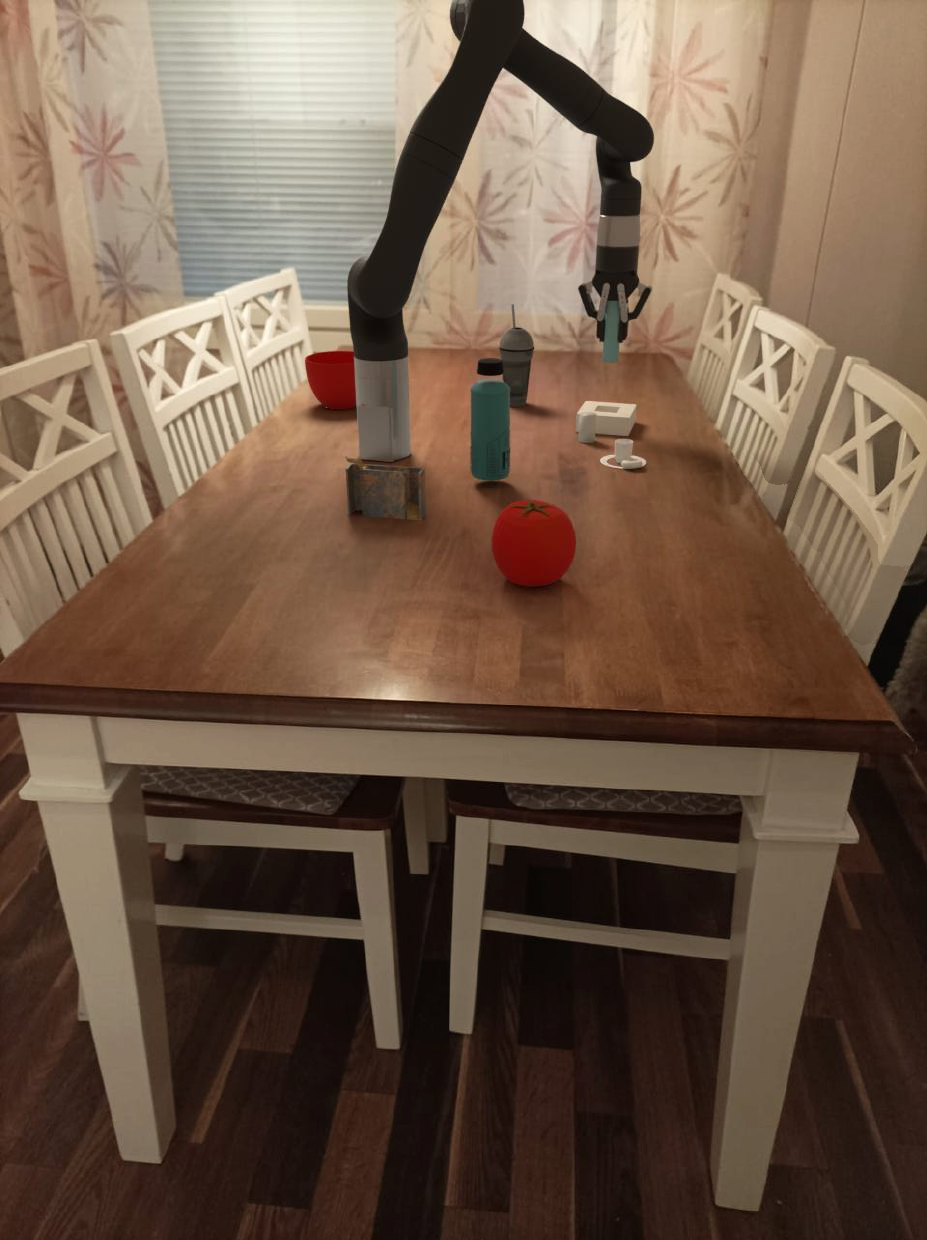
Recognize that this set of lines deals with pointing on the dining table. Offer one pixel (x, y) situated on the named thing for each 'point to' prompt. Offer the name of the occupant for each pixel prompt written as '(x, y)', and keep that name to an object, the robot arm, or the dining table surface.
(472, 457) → the beverage bottle
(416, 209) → the robot arm
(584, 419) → the short pin
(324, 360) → the ceramic cup
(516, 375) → the beverage cup
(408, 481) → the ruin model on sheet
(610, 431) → the hole block
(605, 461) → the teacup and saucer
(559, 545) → the tomato
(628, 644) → the dining table surface
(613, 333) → the long pin
